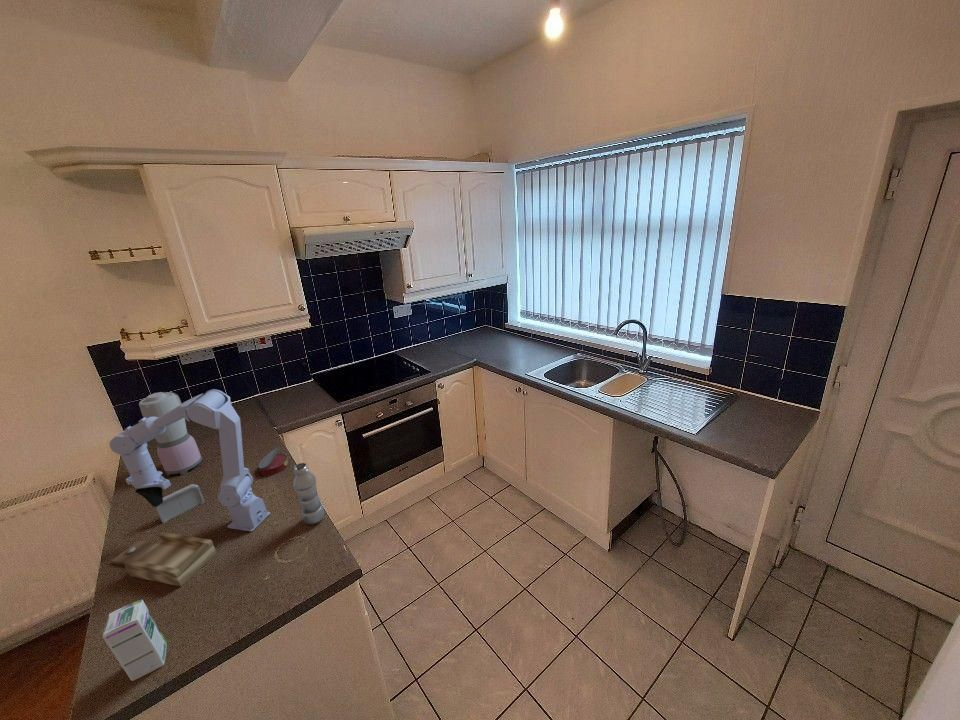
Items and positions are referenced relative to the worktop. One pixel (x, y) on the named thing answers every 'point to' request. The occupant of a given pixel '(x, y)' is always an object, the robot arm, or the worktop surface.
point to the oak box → (172, 559)
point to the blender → (171, 435)
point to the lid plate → (133, 552)
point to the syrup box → (135, 640)
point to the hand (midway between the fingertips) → (158, 504)
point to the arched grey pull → (179, 502)
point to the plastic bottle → (307, 494)
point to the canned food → (273, 463)
